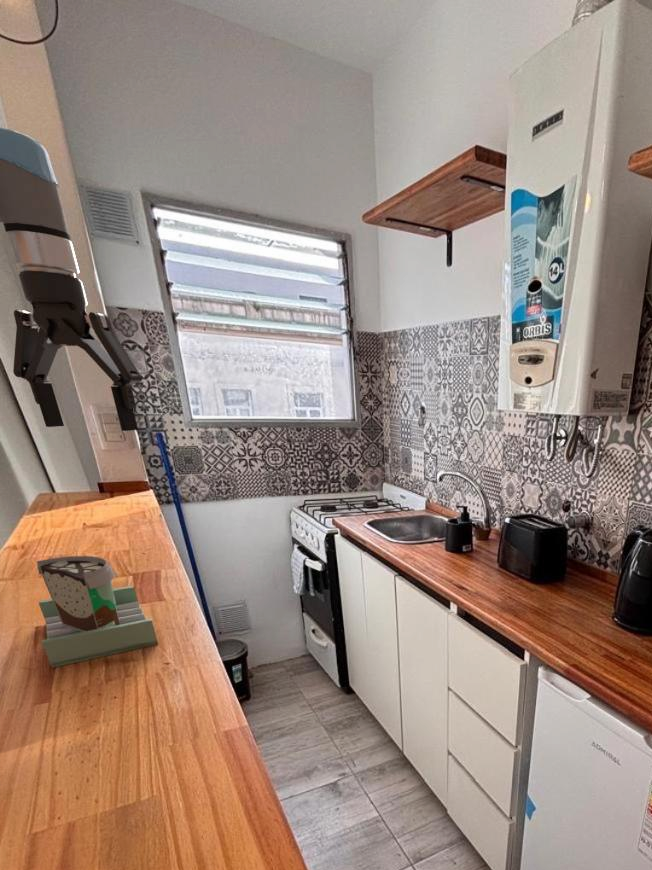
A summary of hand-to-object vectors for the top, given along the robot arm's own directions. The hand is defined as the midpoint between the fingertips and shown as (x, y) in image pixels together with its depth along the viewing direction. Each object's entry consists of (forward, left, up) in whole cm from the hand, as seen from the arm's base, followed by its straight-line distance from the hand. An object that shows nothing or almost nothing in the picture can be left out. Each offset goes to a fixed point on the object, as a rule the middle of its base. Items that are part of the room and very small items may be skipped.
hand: (92, 428), depth 85 cm
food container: (+9, -19, -27) cm, 34 cm away
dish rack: (+8, -18, -29) cm, 35 cm away
